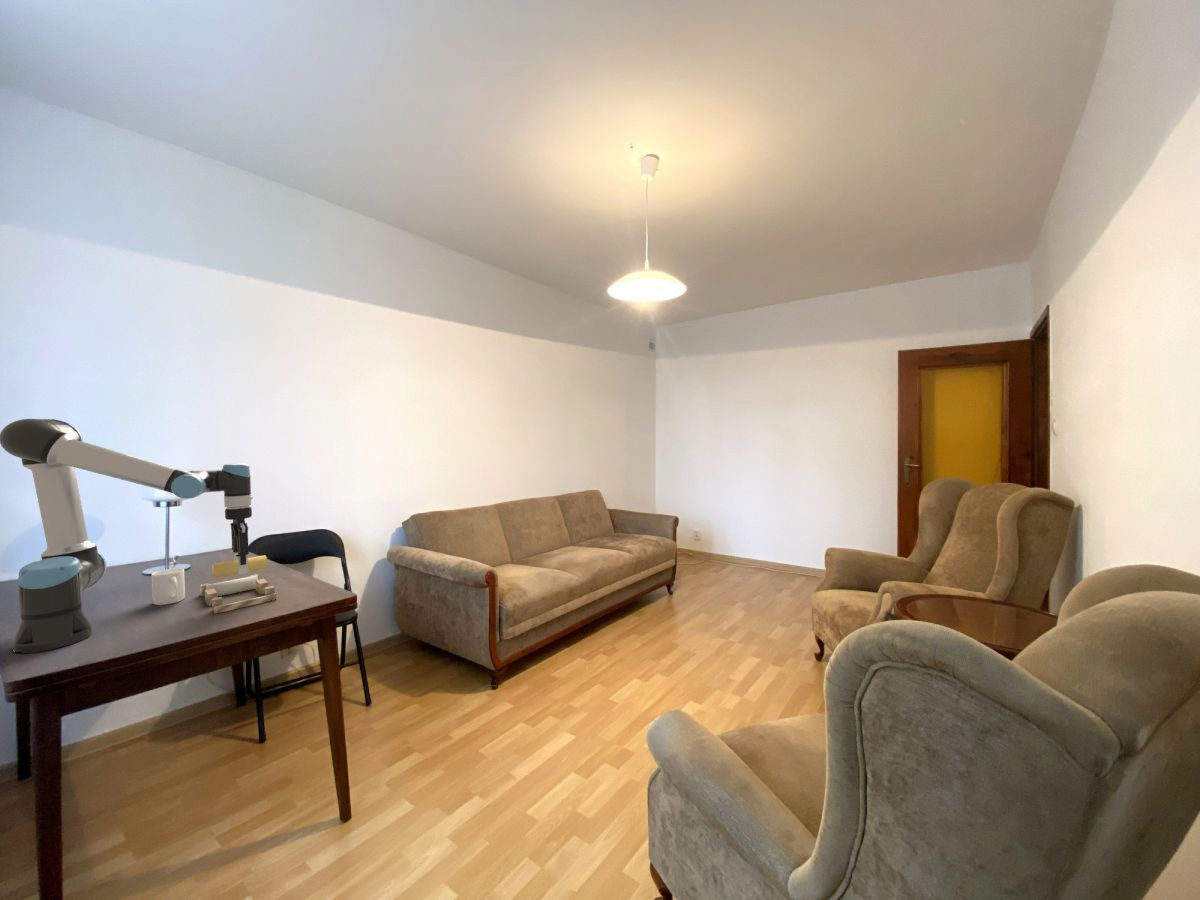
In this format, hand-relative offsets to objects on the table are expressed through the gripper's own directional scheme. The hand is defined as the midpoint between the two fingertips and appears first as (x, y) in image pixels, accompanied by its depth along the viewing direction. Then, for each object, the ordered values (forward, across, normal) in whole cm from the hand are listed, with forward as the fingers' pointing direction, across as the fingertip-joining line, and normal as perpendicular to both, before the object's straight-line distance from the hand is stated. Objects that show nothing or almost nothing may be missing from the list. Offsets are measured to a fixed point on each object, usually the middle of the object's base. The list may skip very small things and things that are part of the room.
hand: (241, 571), depth 169 cm
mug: (+11, +18, +17) cm, 27 cm away
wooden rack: (+11, +6, 0) cm, 12 cm away
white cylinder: (+11, +13, 0) cm, 17 cm away
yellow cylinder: (0, -1, 0) cm, 1 cm away
